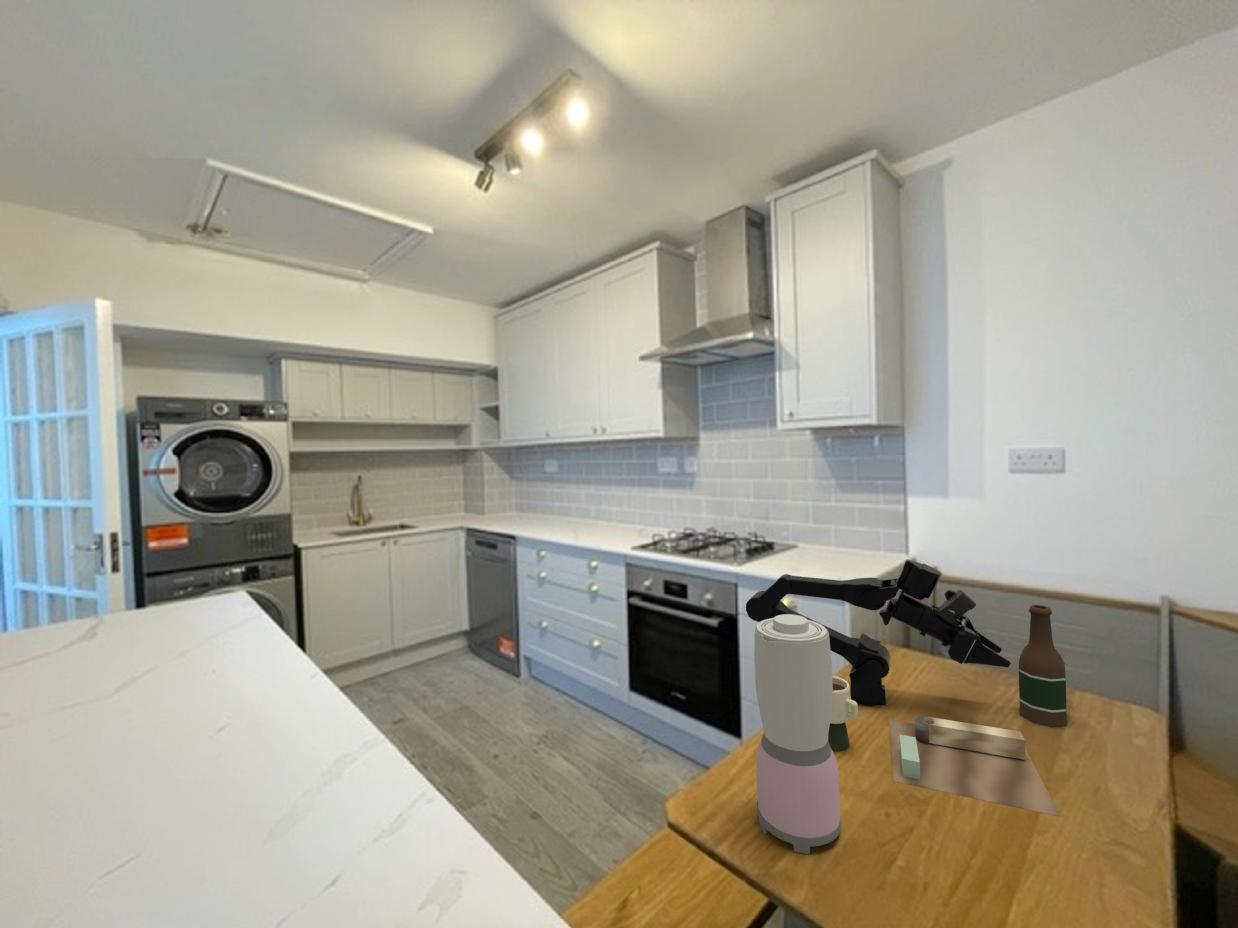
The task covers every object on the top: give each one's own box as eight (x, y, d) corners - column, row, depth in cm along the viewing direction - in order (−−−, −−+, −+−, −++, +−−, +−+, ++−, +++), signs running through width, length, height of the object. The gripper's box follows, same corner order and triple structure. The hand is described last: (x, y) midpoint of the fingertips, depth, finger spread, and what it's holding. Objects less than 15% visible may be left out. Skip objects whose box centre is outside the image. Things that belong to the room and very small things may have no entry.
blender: (815, 869, 71) (807, 640, 70) (741, 824, 80) (733, 621, 79) (864, 812, 81) (857, 612, 80) (794, 778, 90) (787, 598, 89)
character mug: (870, 755, 96) (867, 686, 95) (848, 770, 91) (846, 699, 91) (817, 731, 104) (815, 668, 104) (796, 743, 100) (793, 678, 100)
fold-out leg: (916, 740, 97) (915, 722, 96) (914, 731, 99) (914, 714, 99) (1025, 760, 89) (1025, 740, 89) (1020, 750, 92) (1020, 730, 92)
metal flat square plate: (893, 789, 86) (893, 780, 86) (888, 726, 105) (888, 719, 105) (1060, 825, 76) (1060, 815, 76) (1021, 749, 95) (1021, 741, 95)
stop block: (902, 775, 87) (902, 758, 87) (899, 750, 94) (899, 734, 94) (920, 779, 86) (919, 762, 86) (916, 753, 93) (915, 737, 93)
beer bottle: (1057, 717, 105) (1054, 601, 105) (1077, 737, 98) (1074, 613, 97) (1012, 712, 108) (1009, 599, 107) (1028, 732, 101) (1024, 611, 100)
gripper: (940, 590, 98) (1036, 634, 91) (934, 575, 114) (1014, 611, 107) (914, 641, 100) (1006, 687, 93) (912, 618, 116) (990, 657, 109)
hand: (1005, 657), depth 100 cm, fingers open, 9 cm apart
